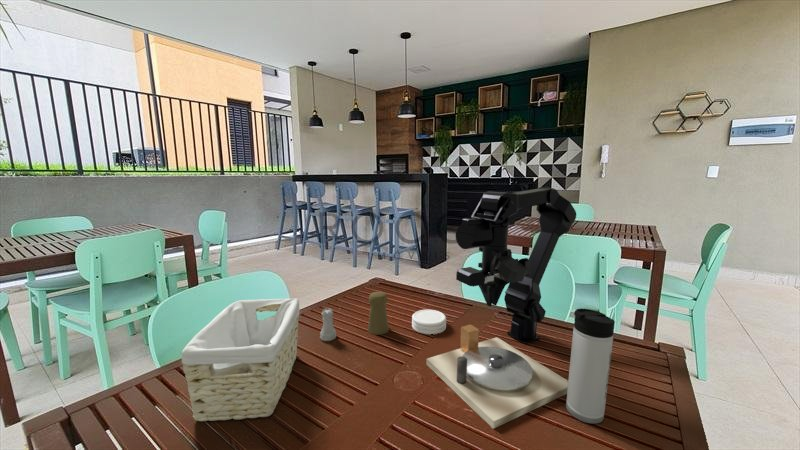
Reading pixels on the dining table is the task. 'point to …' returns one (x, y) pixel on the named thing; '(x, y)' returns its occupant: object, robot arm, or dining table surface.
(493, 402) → the birch base board
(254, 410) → the storage basket
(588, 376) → the travel mug
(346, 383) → the dining table surface
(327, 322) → the white chess piece
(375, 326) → the cork
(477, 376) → the flange plate
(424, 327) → the coaster
